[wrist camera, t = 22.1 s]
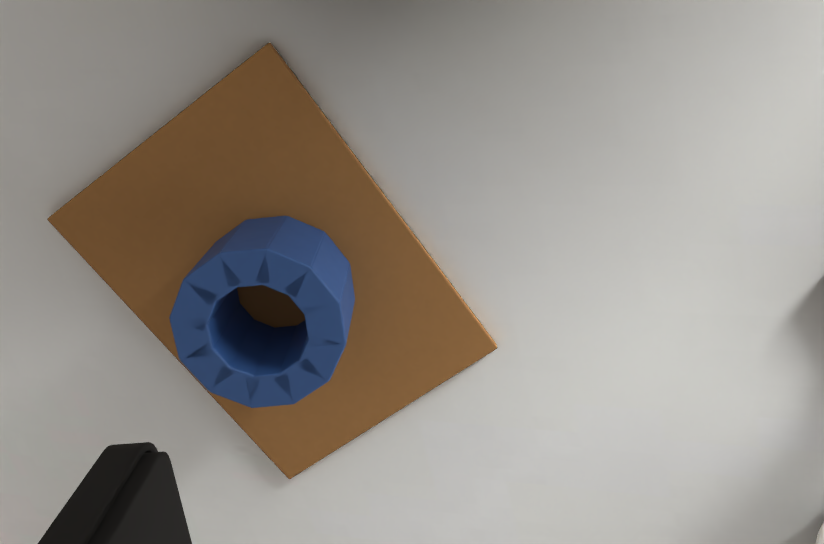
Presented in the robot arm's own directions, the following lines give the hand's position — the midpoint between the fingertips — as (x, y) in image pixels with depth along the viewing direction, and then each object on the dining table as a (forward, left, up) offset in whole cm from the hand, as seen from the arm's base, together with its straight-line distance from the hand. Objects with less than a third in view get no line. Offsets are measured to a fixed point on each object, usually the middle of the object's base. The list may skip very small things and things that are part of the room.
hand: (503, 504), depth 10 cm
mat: (0, -8, -21) cm, 22 cm away
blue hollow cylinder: (0, -8, -20) cm, 22 cm away
